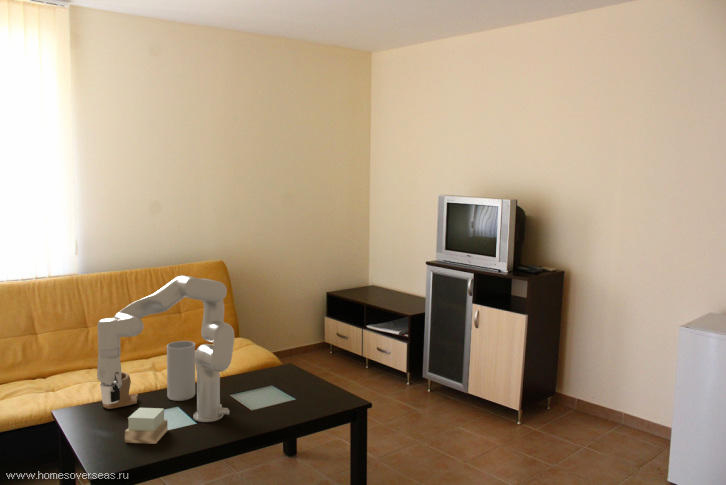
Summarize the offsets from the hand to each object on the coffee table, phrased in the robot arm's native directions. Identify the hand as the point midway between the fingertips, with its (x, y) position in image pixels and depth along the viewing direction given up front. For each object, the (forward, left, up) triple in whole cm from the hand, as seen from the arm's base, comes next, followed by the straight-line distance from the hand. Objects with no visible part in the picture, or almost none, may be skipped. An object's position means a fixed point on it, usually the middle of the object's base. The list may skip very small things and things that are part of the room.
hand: (110, 398), depth 213 cm
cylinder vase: (-7, -54, -20) cm, 58 cm away
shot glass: (0, 0, -1) cm, 1 cm away
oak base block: (-9, -11, -20) cm, 24 cm away
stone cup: (+15, -40, -20) cm, 48 cm away
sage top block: (-9, -11, -15) cm, 20 cm away
